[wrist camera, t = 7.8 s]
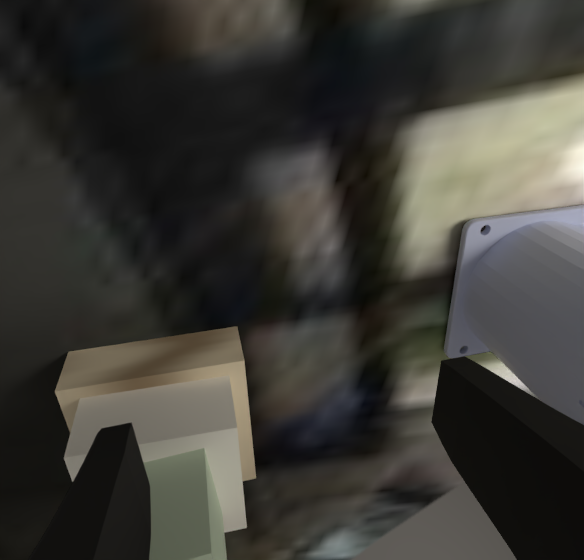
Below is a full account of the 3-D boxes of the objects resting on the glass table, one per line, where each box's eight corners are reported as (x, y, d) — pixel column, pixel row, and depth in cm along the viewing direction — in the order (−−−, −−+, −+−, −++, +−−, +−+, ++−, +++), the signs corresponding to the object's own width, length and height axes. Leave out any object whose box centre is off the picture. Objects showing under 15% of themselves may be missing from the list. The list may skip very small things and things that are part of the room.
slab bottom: (236, 322, 22) (244, 360, 19) (248, 433, 25) (256, 478, 23) (70, 346, 20) (54, 391, 18) (107, 460, 24) (99, 511, 21)
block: (204, 447, 17) (211, 552, 13) (222, 513, 19) (232, 620, 15) (93, 474, 16) (70, 592, 13) (123, 539, 18) (111, 656, 15)
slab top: (229, 375, 19) (237, 427, 17) (238, 470, 22) (246, 527, 20) (79, 398, 18) (63, 458, 16) (110, 495, 21) (101, 559, 18)
